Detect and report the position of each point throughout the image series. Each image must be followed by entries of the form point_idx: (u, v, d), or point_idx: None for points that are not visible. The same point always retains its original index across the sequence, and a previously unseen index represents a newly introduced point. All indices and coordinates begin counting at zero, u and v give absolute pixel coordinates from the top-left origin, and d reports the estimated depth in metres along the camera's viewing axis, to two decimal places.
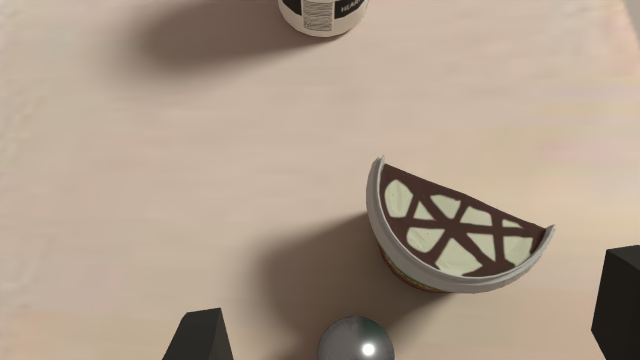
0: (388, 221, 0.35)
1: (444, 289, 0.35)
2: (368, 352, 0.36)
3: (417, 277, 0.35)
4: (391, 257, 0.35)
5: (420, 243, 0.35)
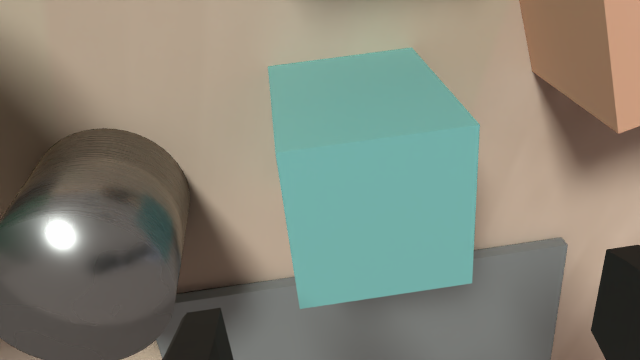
0: None
1: None
2: (62, 272, 0.14)
3: None
4: None
5: None
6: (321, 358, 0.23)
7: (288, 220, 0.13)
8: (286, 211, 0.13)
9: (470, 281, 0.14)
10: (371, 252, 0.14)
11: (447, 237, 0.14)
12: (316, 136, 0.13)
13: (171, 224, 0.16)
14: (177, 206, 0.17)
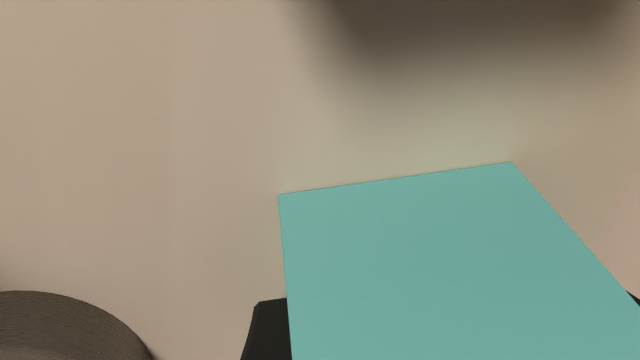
0: None
1: None
2: None
3: None
4: None
5: None
6: None
7: None
8: None
9: None
10: None
11: None
12: None
13: None
14: None
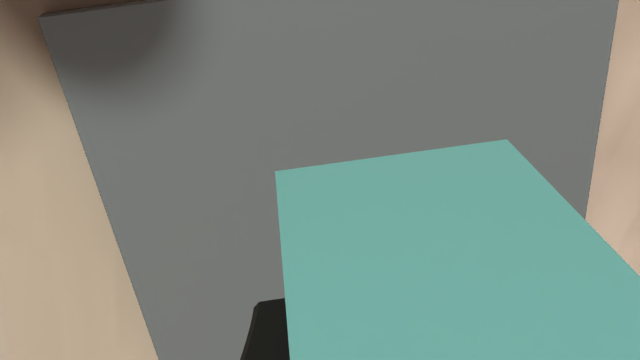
0: None
1: None
2: None
3: None
4: None
5: None
6: (290, 123, 0.17)
7: None
8: None
9: None
10: None
11: None
12: None
13: None
14: None
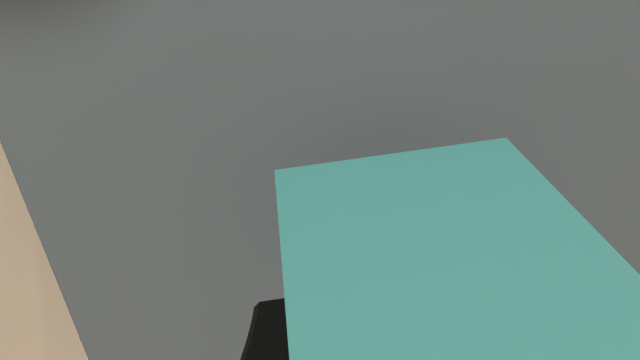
0: None
1: None
2: None
3: None
4: None
5: None
6: (285, 60, 0.12)
7: None
8: None
9: None
10: None
11: None
12: None
13: None
14: None
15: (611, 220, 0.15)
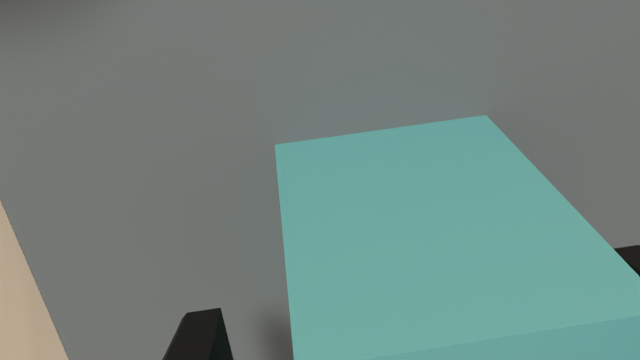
0: None
1: None
2: None
3: None
4: None
5: None
6: (286, 74, 0.11)
7: None
8: None
9: None
10: None
11: None
12: (367, 325, 0.07)
13: None
14: None
15: (628, 238, 0.14)
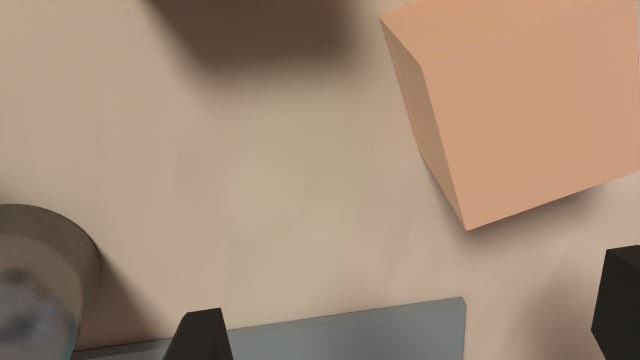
0: None
1: None
2: None
3: None
4: None
5: None
6: None
7: None
8: None
9: None
10: None
11: None
12: None
13: (70, 314, 0.17)
14: (81, 292, 0.18)
15: None
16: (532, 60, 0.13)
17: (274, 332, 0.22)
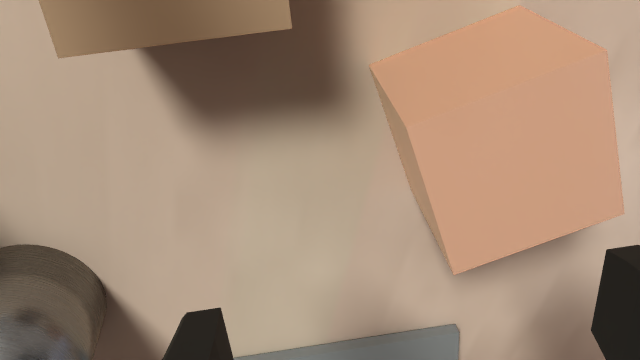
0: None
1: None
2: None
3: None
4: None
5: None
6: None
7: None
8: None
9: None
10: None
11: None
12: None
13: (83, 351, 0.18)
14: (92, 329, 0.19)
15: None
16: (512, 120, 0.14)
17: None
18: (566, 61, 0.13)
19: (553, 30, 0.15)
